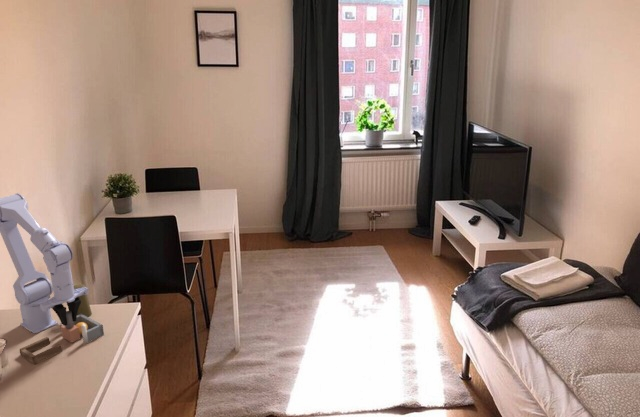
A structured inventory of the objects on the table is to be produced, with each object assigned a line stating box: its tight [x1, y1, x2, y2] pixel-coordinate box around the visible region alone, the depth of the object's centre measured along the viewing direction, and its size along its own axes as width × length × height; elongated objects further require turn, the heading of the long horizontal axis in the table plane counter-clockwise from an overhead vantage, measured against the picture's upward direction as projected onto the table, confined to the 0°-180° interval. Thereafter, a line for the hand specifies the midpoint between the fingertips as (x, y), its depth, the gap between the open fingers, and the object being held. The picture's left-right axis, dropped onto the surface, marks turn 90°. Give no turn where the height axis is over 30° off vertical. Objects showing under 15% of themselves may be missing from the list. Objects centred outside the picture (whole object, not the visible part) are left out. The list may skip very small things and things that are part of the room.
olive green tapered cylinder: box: [73, 283, 93, 318], centre depth 185 cm, size 6×6×11 cm
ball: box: [76, 322, 89, 336], centre depth 175 cm, size 4×4×4 cm
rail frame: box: [19, 336, 63, 365], centre depth 165 cm, size 8×8×2 cm
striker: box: [60, 310, 81, 343], centre depth 171 cm, size 5×3×9 cm, turn 54°
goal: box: [73, 314, 105, 345], centre depth 175 cm, size 12×7×6 cm, turn 54°
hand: (68, 322), depth 171 cm, fingers closed on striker, 2 cm apart
